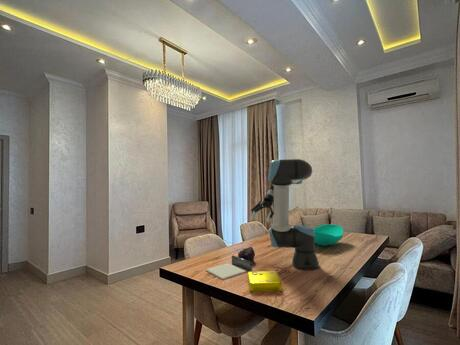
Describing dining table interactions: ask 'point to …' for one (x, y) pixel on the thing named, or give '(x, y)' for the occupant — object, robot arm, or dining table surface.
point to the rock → (247, 254)
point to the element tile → (264, 281)
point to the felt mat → (225, 271)
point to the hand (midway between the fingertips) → (258, 220)
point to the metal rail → (242, 263)
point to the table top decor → (328, 234)
